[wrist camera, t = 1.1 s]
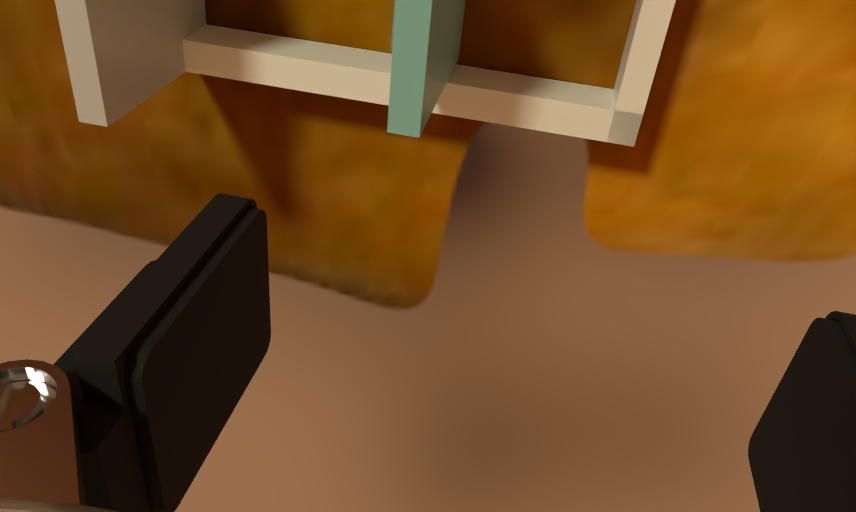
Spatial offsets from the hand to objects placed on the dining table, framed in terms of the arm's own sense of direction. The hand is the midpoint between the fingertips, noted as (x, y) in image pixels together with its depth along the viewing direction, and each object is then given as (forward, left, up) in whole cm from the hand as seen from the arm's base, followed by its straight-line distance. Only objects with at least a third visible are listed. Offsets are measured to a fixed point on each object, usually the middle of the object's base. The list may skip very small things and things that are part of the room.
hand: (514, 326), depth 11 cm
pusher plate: (+6, 0, -23) cm, 24 cm away
